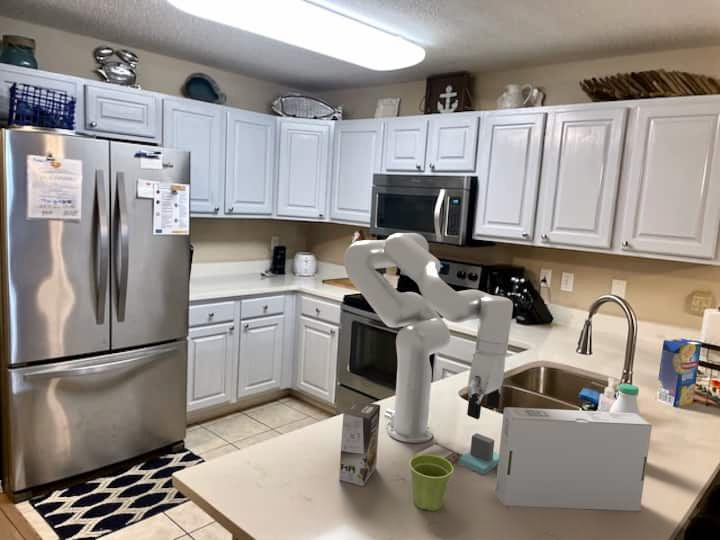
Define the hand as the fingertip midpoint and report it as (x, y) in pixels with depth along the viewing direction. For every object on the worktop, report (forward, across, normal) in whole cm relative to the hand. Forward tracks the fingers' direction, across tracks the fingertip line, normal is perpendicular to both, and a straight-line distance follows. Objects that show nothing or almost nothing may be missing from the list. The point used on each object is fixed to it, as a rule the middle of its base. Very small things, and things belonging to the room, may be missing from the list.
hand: (483, 411), depth 126 cm
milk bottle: (+13, -32, +25) cm, 42 cm away
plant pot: (+13, +25, +2) cm, 28 cm away
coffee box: (+14, +28, -16) cm, 35 cm away
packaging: (+13, 0, +23) cm, 26 cm away
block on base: (+13, 0, +1) cm, 13 cm away
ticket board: (+14, +8, -7) cm, 17 cm away
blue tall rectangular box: (+12, -94, +26) cm, 99 cm away
